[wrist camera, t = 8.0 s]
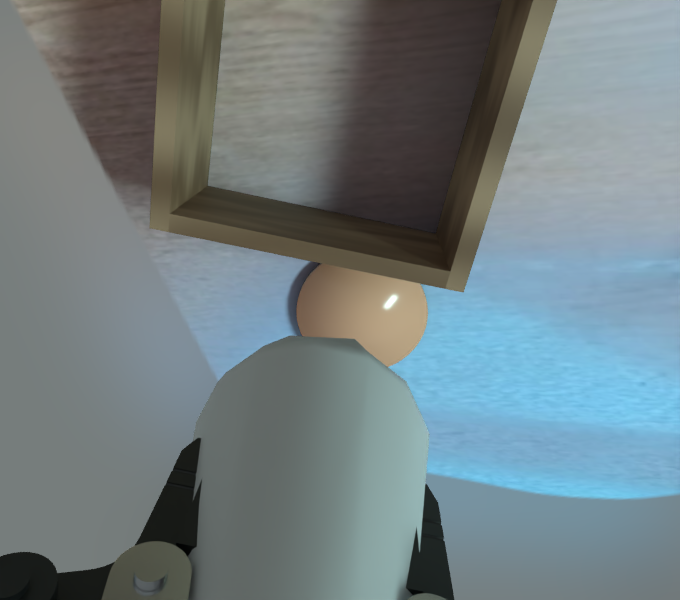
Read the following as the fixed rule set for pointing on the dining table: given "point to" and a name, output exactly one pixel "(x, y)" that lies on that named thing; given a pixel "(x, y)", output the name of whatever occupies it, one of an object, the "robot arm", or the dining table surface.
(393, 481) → the salt shaker
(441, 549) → the robot arm
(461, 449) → the dining table surface
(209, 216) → the walnut box
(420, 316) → the tan round coaster
